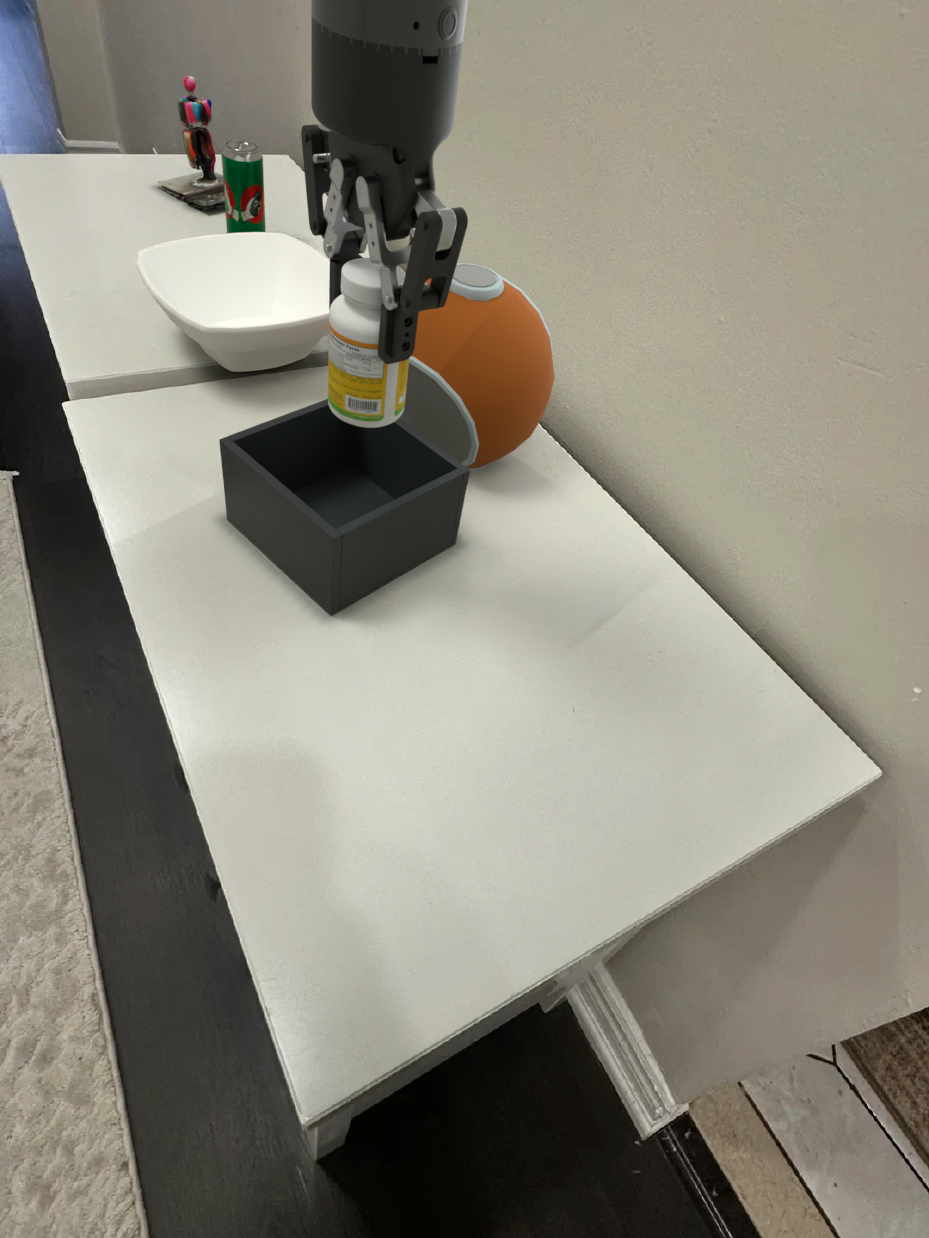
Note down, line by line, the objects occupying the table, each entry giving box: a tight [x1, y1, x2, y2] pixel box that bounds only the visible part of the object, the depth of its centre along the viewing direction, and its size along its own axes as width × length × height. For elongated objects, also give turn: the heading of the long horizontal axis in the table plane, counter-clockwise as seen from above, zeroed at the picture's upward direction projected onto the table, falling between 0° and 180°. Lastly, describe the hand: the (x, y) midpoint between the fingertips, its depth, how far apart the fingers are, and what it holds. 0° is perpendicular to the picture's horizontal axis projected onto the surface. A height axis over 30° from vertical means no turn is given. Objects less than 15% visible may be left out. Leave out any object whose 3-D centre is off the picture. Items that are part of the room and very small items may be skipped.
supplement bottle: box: [327, 257, 409, 428], centre depth 51 cm, size 5×5×10 cm
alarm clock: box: [399, 262, 555, 471], centre depth 76 cm, size 19×18×17 cm
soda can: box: [220, 139, 267, 234], centre depth 100 cm, size 5×5×12 cm
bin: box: [218, 398, 471, 617], centre depth 66 cm, size 15×15×9 cm
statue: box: [157, 75, 225, 210], centre depth 108 cm, size 11×9×15 cm
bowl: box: [136, 231, 330, 373], centre depth 84 cm, size 21×21×9 cm
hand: (369, 335), depth 50 cm, fingers closed on supplement bottle, 5 cm apart
